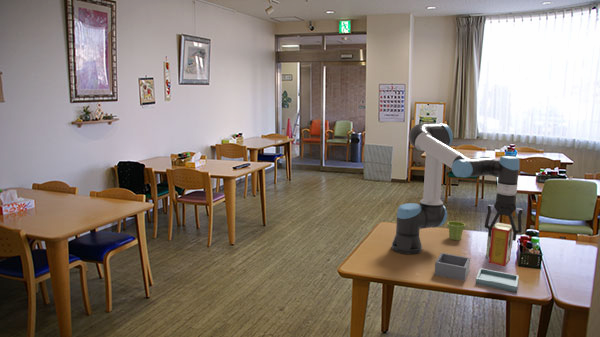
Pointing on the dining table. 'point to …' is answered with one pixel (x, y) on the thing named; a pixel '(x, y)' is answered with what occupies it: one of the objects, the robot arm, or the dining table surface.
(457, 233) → the plant pot
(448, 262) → the box
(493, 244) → the baking soda box
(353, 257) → the dining table surface
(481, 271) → the tray
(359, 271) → the dining table surface
